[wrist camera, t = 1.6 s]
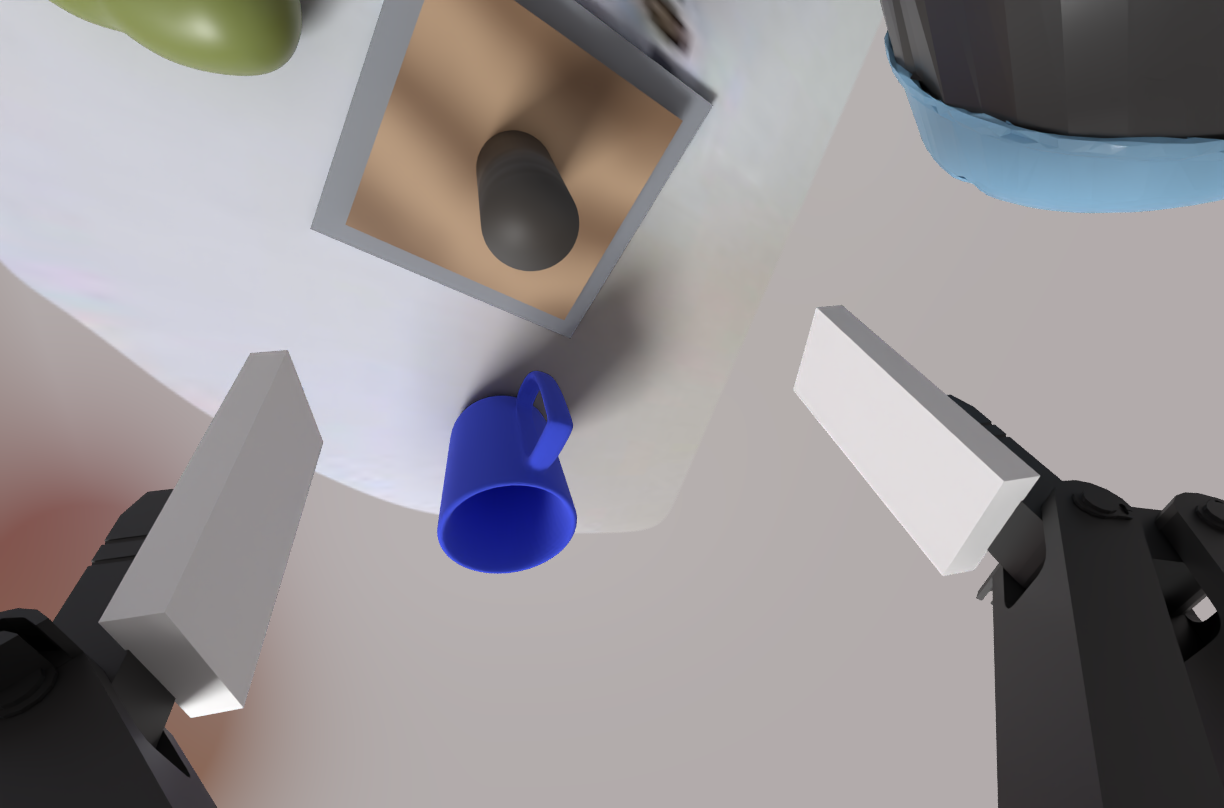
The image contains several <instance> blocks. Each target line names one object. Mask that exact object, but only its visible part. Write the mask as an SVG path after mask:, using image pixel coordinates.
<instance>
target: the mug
mask: <svg viewBox="0 0 1224 808" xmlns="http://www.w3.org/2000/svg"><path fill="white" fill-rule="evenodd" d="M539 390H540V392H541V395H542V398H543V402H544V406H545V410H546V414H547V422H546V420H545V419H544V417H543V416H542V414H541V413H540V412H539V410H538V409H537V408H535V407H534V406H533V403H534V401H535V398H536V396H537V394H538V392H539ZM572 429H573V422H572V418H571V416H570V413H569V410H568V407H567V404H566V402H565V399H564V397H563V394H562V392H561V390H560V388H559V386H558V384H557V383H556V381H555V380H554V379H553V377H551V376H550V375H548V374H546V373H544V372H540V371H532V372H530V373H529V374H528V375H527V376H526V377H525V379H524V381H523V383H522V384H521V387H520V389H519V392H518V396H517V398H516V397H512V396H491V397H487V398H484V399H481V400H479V401H477V402H475V403H473V404H471V405H470V406H469V407H467V408H466V409H465V410H464V411H463V412H462V413H461V414H460V416H459V417H458V419H457V420H456V422H455V424H454V427H453V429H452V433H451V438H450V445H449V452H448V458H447V465H446V472H445V479H444V486H443V493H442V500H441V507H440V514H439V521H438V528H437V533H438V540H439V543H440V545H441V547H442V549H443V551H444V552H445V553H446V554H447V556H448V557H450V558H451V559H452V560H453V561H455V562H456V563H458V564H459V565H461V566H463V567H466V568H468V569H471V570H474V571H479V572H484V573H497V574H498V573H511V572H518V571H522V570H526V569H530V568H532V567H535V566H538V565H540V564H542V563H544V562H546V561H548V560H549V559H551V558H553V557H554V556H555V555H557V554H558V553H559V552H560V551H562V550H563V549H564V548H565V546H566V545H567V544H568V543H569V541H570V540H571V538H572V536H573V534H574V532H575V529H576V523H577V514H576V510H575V507H574V504H573V501H572V498H571V495H570V491H569V488H568V485H567V482H566V479H565V476H564V473H563V470H562V467H561V464H560V461H559V458H558V455H559V453H560V452H561V450H562V448H563V447H564V445H565V443H566V441H567V439H568V438H569V436H570V434H571V431H572Z"/></svg>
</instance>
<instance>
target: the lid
mask: <svg viewBox="0 0 1224 808" xmlns="http://www.w3.org/2000/svg"><path fill="white" fill-rule="evenodd" d="M682 122H683V121H682V120H681V119H679V118H678V117H677V116H675V115H674V114H672V113H671V112H670V111H668V110H667V109H665V108H664V107H663V106H661V105H660V104H658V103H657V102H656V101H654V100H653V99H651V98H650V97H649V96H647V95H646V94H644V93H643V92H642V91H640V90H639V89H637V88H636V87H635V86H633V85H632V84H630V83H629V82H628V81H626V80H625V79H623V78H622V77H621V76H619V75H618V74H616V73H615V72H614V71H612V70H611V69H609V68H608V67H607V66H605V65H604V64H603V63H601V62H600V61H598V60H597V59H596V58H594V57H593V56H591V55H590V54H589V53H587V52H586V51H584V50H583V49H582V48H580V47H579V46H577V45H576V44H575V43H573V42H572V41H570V40H569V39H568V38H566V37H565V36H563V35H562V34H561V33H559V32H558V31H556V30H555V29H554V28H552V27H551V26H549V25H548V24H547V23H545V22H544V21H542V20H541V19H540V18H538V17H537V16H535V15H534V14H533V13H531V12H530V11H528V10H527V9H526V8H524V7H523V6H521V5H520V4H519V3H517V2H516V1H514V0H424V3H423V6H422V8H421V11H420V14H419V17H418V20H417V23H416V25H415V28H414V31H413V34H412V37H411V40H410V42H409V45H408V48H407V51H406V54H405V57H404V59H403V62H402V65H401V68H400V71H399V74H398V76H397V79H396V82H395V85H394V88H393V91H392V94H391V96H390V99H389V102H388V105H387V108H386V111H385V113H384V116H383V119H382V122H381V125H380V128H379V130H378V133H377V136H376V139H375V142H374V145H373V147H372V150H371V153H370V156H369V159H368V162H367V164H366V167H365V170H364V173H363V176H362V179H361V182H360V184H359V187H358V190H357V193H356V196H355V199H354V201H353V204H352V207H351V210H350V213H349V216H348V218H347V221H346V224H345V225H347V226H349V227H352V228H354V229H356V230H359V231H361V232H363V233H365V234H368V235H370V236H372V237H375V238H377V239H379V240H381V241H384V242H386V243H388V244H391V245H393V246H395V247H397V248H400V249H402V250H404V251H407V252H409V253H411V254H413V255H416V256H418V257H420V258H423V259H425V260H427V261H429V262H432V263H434V264H436V265H439V266H441V267H443V268H445V269H448V270H450V271H452V272H455V273H457V274H459V275H461V276H464V277H466V278H468V279H471V280H473V281H475V282H477V283H480V284H482V285H484V286H487V287H489V288H491V289H493V290H496V291H498V292H500V293H503V294H505V295H507V296H509V297H512V298H514V299H516V300H519V301H521V302H523V303H525V304H528V305H530V306H532V307H535V308H537V309H539V310H541V311H544V312H546V313H548V314H551V315H553V316H555V317H557V318H560V319H562V320H565V318H566V316H567V315H568V313H569V311H570V310H571V308H572V306H573V305H574V303H575V301H576V300H577V298H578V296H579V295H580V293H581V291H582V290H583V288H584V286H585V285H586V283H587V281H588V279H589V278H590V276H591V274H592V273H593V271H594V269H595V268H596V266H597V264H598V263H599V261H600V259H601V258H602V256H603V254H604V253H605V251H606V249H607V248H608V246H609V244H610V243H611V241H612V239H613V238H614V236H615V234H616V232H617V231H618V229H619V227H620V226H621V224H622V222H623V221H624V219H625V217H626V216H627V214H628V212H629V211H630V209H631V207H632V206H633V204H634V202H635V201H636V199H637V197H638V196H639V194H640V192H641V190H642V189H643V187H644V185H645V184H646V182H647V180H648V179H649V177H650V175H651V174H652V172H653V170H654V169H655V167H656V165H657V164H658V162H659V160H660V159H661V157H662V155H663V154H664V152H665V150H666V148H667V147H668V145H669V143H670V142H671V140H672V138H673V137H674V135H675V133H676V132H677V130H678V128H679V127H680V125H681V123H682Z"/></svg>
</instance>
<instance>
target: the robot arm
mask: <svg viewBox="0 0 1224 808" xmlns="http://www.w3.org/2000/svg"><path fill="white" fill-rule="evenodd" d="M880 2H881V6H882V10H883V14H884V18H885V21H886V25H887V29H888V30H887V33H886V35H885V38H884V39H885V47H886V54H887V57H888V60H889V63H890V66H891V68H892V71H893V73H894V74H895V76H896V78H897V79H898V81H899V82H900V84H901V85H902V86H903V87H904V88H905V92H906V94H907V97H908V100H909V103H910V106H911V109H912V111H913V115H914V117H915V120H916V123H917V126H918V129H919V132H920V135H921V138H922V141H923V143H924V144H925V147H926V149H927V150H928V151H929V153H930V154H931V156H932V157H933V159H934V160H935V161H936V162H937V163H938V164H939V165H940V166H941V167H942V168H943V169H944V170H945V171H946V172H947V173H948V174H950V175H951V176H952V177H954V178H956V179H959V180H961V181H964V182H969V183H973V184H974V185H975V186H976V187H977V188H978V189H979V190H980V191H982V192H984V193H985V194H986V195H988V196H991V197H993V198H996V199H999V200H1003V201H1006V202H1010V203H1014V204H1018V205H1022V206H1026V207H1032V208H1038V209H1044V210H1052V211H1063V212H1077V213H1108V212H1109V213H1110V212H1141V211H1153V210H1161V209H1168V208H1176V207H1183V206H1191V205H1197V204H1203V203H1208V202H1213V201H1218V200H1223V199H1224V0H880ZM793 390H794V392H795V393H796V394H797V395H798V397H799V398H800V399H801V400H802V402H803V403H804V404H805V405H806V407H807V408H808V409H809V410H810V412H811V413H812V414H813V415H814V417H815V418H816V419H817V420H818V422H819V423H820V424H821V425H822V426H823V428H824V429H825V430H826V432H827V433H828V434H829V435H830V437H831V438H832V439H833V440H834V442H835V443H836V444H837V445H838V446H839V448H840V449H841V450H842V451H843V453H844V454H845V455H846V456H847V458H848V459H849V460H850V461H851V463H852V464H853V465H854V466H855V468H856V469H857V470H858V471H859V473H860V474H861V475H862V476H863V478H864V479H865V480H866V481H867V482H868V484H869V485H870V486H871V488H872V489H873V490H874V491H875V492H876V494H877V495H878V496H879V497H880V499H881V500H882V501H883V502H884V504H885V505H886V506H887V507H888V509H889V510H890V511H891V512H892V514H893V515H894V516H895V517H896V519H897V520H898V521H899V522H900V524H901V525H902V526H903V527H904V529H905V530H906V531H907V532H908V533H909V535H910V536H911V537H912V539H913V540H914V541H915V542H916V543H917V544H918V546H919V547H920V548H921V550H922V551H923V552H924V553H925V555H926V556H927V557H928V558H929V559H930V561H931V562H932V563H933V565H934V566H935V567H936V568H937V569H938V571H939V572H940V573H941V574H942V576H946V575H951V574H956V573H961V572H967V571H972V570H975V569H976V567H977V566H978V564H979V563H980V561H981V560H982V558H983V557H984V555H985V554H986V553H987V551H989V552H990V553H991V555H992V556H993V557H994V558H995V559H996V560H997V561H998V562H999V564H998V565H997V566H996V568H995V569H994V571H993V572H992V573H991V575H990V576H989V578H988V579H987V580H986V582H985V583H984V584H983V585H982V587H981V588H980V590H979V591H978V594H977V597H976V598H977V599H979V600H983V599H984V597H985V596H986V595H987V593H988V592H989V591H992V590H993V601H992V602H991V604H992V605H993V622H994V661H995V701H996V740H997V779H998V808H1224V500H1221V499H1218V498H1215V497H1210V496H1207V495H1203V494H1199V493H1182V494H1179V495H1176V496H1175V497H1174V498H1173V499H1172V500H1171V502H1170V503H1169V504H1168V505H1167V506H1166V507H1165V508H1164V509H1163V510H1153V509H1144V508H1136V507H1131V506H1129V505H1128V504H1127V503H1126V502H1125V501H1124V500H1123V499H1122V498H1120V497H1118V496H1117V495H1115V494H1113V493H1112V492H1110V491H1108V490H1107V489H1104V488H1102V487H1099V486H1096V485H1094V484H1091V483H1087V482H1082V481H1077V480H1072V481H1061V480H1060V479H1059V478H1058V477H1057V476H1056V475H1054V474H1053V473H1052V472H1051V471H1050V470H1049V469H1047V468H1046V467H1045V466H1044V465H1042V464H1041V463H1040V462H1039V461H1038V460H1037V459H1035V458H1034V457H1033V456H1032V455H1031V454H1029V453H1028V452H1027V451H1026V450H1024V449H1023V448H1022V447H1021V446H1020V445H1019V444H1017V443H1016V442H1015V441H1014V440H1013V439H1012V438H1010V437H1006V434H1005V433H1004V432H1003V431H1002V430H1001V429H999V428H998V427H997V426H996V425H992V424H991V421H990V420H989V419H988V418H986V417H985V416H984V415H983V414H982V413H980V412H979V411H978V410H977V409H976V408H974V407H973V406H971V405H969V404H967V403H965V402H964V401H961V400H960V399H958V398H956V397H954V396H952V395H946V394H945V393H944V392H942V391H941V390H940V389H939V388H937V386H935V385H934V384H933V383H932V382H931V381H930V380H928V379H927V378H926V377H925V376H924V375H923V374H921V373H920V372H919V371H918V370H917V369H916V368H914V367H913V366H912V365H911V364H910V363H909V362H907V361H906V360H905V359H904V358H903V357H902V356H901V355H899V354H898V353H897V352H896V351H895V350H894V349H892V348H891V347H890V346H889V345H888V344H886V343H885V342H884V341H883V340H882V339H881V338H879V337H878V336H877V335H876V334H875V333H874V332H873V331H871V330H870V329H869V328H868V327H867V326H866V325H865V324H863V323H862V322H861V321H860V320H858V318H856V317H855V316H854V315H853V314H852V313H851V312H849V311H848V310H847V309H846V308H845V307H844V306H842V305H840V306H827V307H817V308H816V311H815V315H814V318H813V322H812V325H811V329H810V332H809V336H808V340H807V343H806V347H805V350H804V354H803V357H802V361H801V365H800V368H799V371H798V375H797V379H796V382H795V386H794V389H793ZM322 445H323V440H322V437H321V435H320V432H319V430H318V427H317V425H316V422H315V419H314V417H313V414H312V412H311V409H310V406H309V404H308V401H307V399H306V396H305V393H304V391H303V388H302V386H301V383H300V380H299V378H298V375H297V373H296V370H295V368H294V365H293V362H292V360H291V357H290V355H289V352H288V350H283V351H271V352H259V353H250V355H249V357H248V358H247V360H246V362H245V364H244V366H243V367H242V369H241V371H240V373H239V374H238V376H237V378H236V380H235V381H234V383H233V385H232V387H231V389H230V390H229V392H228V394H227V396H226V397H225V399H224V401H223V403H222V404H221V406H220V408H219V410H218V412H217V413H216V415H215V417H214V419H213V420H212V422H211V424H210V426H209V428H208V429H207V431H206V433H205V435H204V436H203V438H202V440H201V442H200V444H199V445H198V447H197V449H196V450H195V452H194V454H193V456H192V458H191V459H190V461H189V463H188V465H187V467H186V468H185V470H184V472H183V473H182V475H181V477H180V479H179V481H178V482H177V484H176V486H175V488H174V489H169V490H160V491H151V492H147V493H146V494H145V495H143V496H142V497H141V498H140V499H139V500H138V501H136V502H135V503H134V504H133V505H132V506H131V507H129V508H128V509H127V510H126V511H125V512H124V513H123V514H121V515H120V517H119V518H118V520H117V522H116V523H115V525H114V526H113V528H112V529H111V531H110V533H109V534H108V536H107V537H106V539H105V545H101V547H100V548H99V550H98V552H97V553H96V555H95V556H94V558H93V559H92V566H88V567H87V569H86V570H85V572H84V574H83V575H82V577H81V578H80V580H79V581H78V583H77V585H76V586H75V588H74V589H73V591H72V592H71V594H70V595H69V597H68V599H67V600H66V602H65V603H64V605H63V606H62V608H61V610H60V611H59V613H58V614H57V616H56V617H55V619H54V621H53V622H52V621H51V620H49V618H47V617H46V616H45V615H43V614H42V613H41V612H39V611H38V610H34V609H21V608H17V609H12V610H8V611H3V612H0V808H217V806H216V805H215V803H214V801H213V800H212V798H211V797H210V795H209V793H208V792H207V790H206V789H205V787H204V785H203V784H202V782H201V781H200V779H199V777H198V776H197V774H196V772H195V771H194V769H193V768H192V766H191V764H190V763H189V761H188V759H187V758H186V756H185V755H184V753H183V752H182V750H181V748H180V747H179V745H178V743H177V742H176V740H175V739H174V737H173V735H172V734H171V733H170V732H169V731H168V730H166V728H165V724H166V722H167V719H168V717H169V714H170V712H171V709H172V707H173V704H174V702H176V703H177V704H178V705H179V706H180V707H181V708H182V709H183V710H184V711H185V712H186V713H187V714H188V715H189V716H190V717H191V718H193V717H198V716H203V715H208V714H214V713H219V712H225V711H230V710H235V709H240V708H244V705H245V701H246V698H247V694H248V691H249V688H250V684H251V681H252V678H253V675H254V671H255V668H256V665H257V661H258V658H259V655H260V651H261V648H262V644H263V641H264V638H265V635H266V631H267V628H268V625H269V621H270V618H271V615H272V611H273V608H274V605H275V601H276V598H277V595H278V591H279V588H280V585H281V581H282V578H283V575H284V571H285V568H286V565H287V561H288V558H289V555H290V551H291V548H292V545H293V541H294V538H295V535H296V531H297V528H298V525H299V521H300V518H301V515H302V511H303V508H304V505H305V501H306V498H307V494H308V491H309V488H310V485H311V481H312V478H313V475H314V471H315V468H316V465H317V461H318V458H319V455H320V451H321V448H322ZM1206 596H1207V597H1208V598H1209V599H1210V601H1211V602H1212V604H1213V605H1214V607H1215V608H1216V610H1217V612H1216V613H1215V614H1213V615H1212V616H1211V617H1210V618H1209V619H1207V620H1205V621H1204V622H1202V621H1201V620H1200V619H1199V618H1198V617H1197V615H1196V614H1195V612H1194V611H1193V610H1192V608H1193V607H1194V606H1195V605H1197V604H1198V603H1199V602H1200V601H1201V600H1202V599H1204V598H1205V597H1206Z"/></svg>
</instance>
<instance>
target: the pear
mask: <svg viewBox="0 0 1224 808" xmlns="http://www.w3.org/2000/svg"><path fill="white" fill-rule="evenodd" d="M49 1H51V2H52V3H54V4H55V5H57V6H59V7H60V8H62V9H64V10H65V11H67V12H69V13H71V14H73V15H75V16H77V17H79V18H81V19H83V20H86V21H88V22H91V23H93V24H96V25H99V26H103V27H106V28H110V29H113V30H117V31H121V32H124V33H125V34H127V35H128V36H130V37H131V38H132V39H134V40H135V41H137V42H138V43H139V44H141V45H142V46H144V47H146V48H147V49H149V50H150V51H152V52H154V53H156V54H158V55H159V56H161V57H163V58H166V59H168V60H170V61H173V62H175V63H178V64H181V65H184V66H187V67H190V68H194V69H198V70H202V71H207V72H212V73H218V74H225V75H236V76H254V75H262V74H266V73H270V72H272V71H275V70H277V69H279V68H280V67H282V66H283V65H284V64H285V63H286V62H287V61H288V60H289V59H290V58H291V57H292V55H293V54H294V52H295V50H296V48H297V45H298V42H299V39H300V35H301V28H302V11H301V4H300V0H49Z"/></svg>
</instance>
